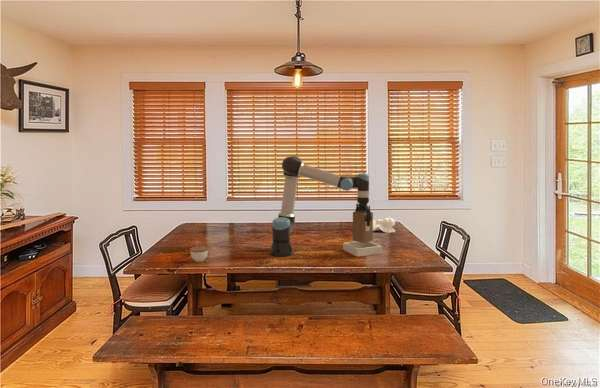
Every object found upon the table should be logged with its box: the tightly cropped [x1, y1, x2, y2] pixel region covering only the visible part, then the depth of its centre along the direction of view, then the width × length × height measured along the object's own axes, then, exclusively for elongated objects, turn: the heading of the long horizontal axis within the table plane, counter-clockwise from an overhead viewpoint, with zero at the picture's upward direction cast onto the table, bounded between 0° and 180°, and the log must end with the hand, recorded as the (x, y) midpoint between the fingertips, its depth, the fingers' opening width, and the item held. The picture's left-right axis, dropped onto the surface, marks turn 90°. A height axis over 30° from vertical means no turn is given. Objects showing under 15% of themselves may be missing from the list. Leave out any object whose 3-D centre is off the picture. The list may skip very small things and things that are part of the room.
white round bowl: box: [189, 245, 209, 263], centre depth 252 cm, size 11×11×9 cm
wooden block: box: [352, 211, 374, 243], centre depth 269 cm, size 10×10×20 cm
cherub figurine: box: [373, 217, 396, 234], centre depth 336 cm, size 13×12×20 cm
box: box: [342, 241, 383, 258], centre depth 271 cm, size 19×19×5 cm
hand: (362, 229), depth 270 cm, fingers closed on wooden block, 11 cm apart
